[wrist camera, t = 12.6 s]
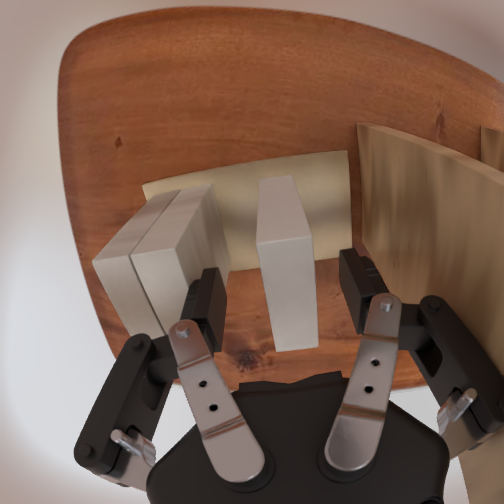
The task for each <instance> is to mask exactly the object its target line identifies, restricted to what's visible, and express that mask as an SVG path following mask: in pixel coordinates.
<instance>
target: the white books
mask: <svg viewBox="0 0 504 504" xmlns="http://www.w3.org/2000/svg"><path fill="white" fill-rule="evenodd" d="M284 175H292V177H293V180H294V183H295V185H296V188H297V191H298V194H299V197H300V200H301V203H302V206H303V209H304V212H305V215H306V218H307V221H308V224H309V227H310V230H311V234H312V237H313V249H314V261H315V260H322V259H329V258H336V257H339V251H340V250H341V249H348V248H352V217H351V192H350V175H349V162H348V151H347V150H336V151H325V152H316V153H307V154H299V155H291V156H283V157H276V158H269V159H263V160H256V161H250V162H244V163H238V164H233V165H227V166H222V167H216V168H211V169H206V170H201V171H196V172H192V173H187V174H182V175H178V176H174V177H169V178H165V179H161V180H157V181H153V182H149V183H145V184H143V185H142V188H143V191H144V194H145V198H146V201H147V202H146V203H145V204H144V205H143V206H142V207H141V208H140V209H139V210H138V211H137V213H136V214H135V215H134V216H133V217H132V218H131V219H130V220H129V221H128V222H127V223H126V224H125V225H124V226H123V227H122V228H121V229H120V230H119V231H118V232H117V233H116V235H115V236H114V237H113V238H112V239H111V240H110V241H109V242H108V243H107V244H106V246H105V247H104V248H103V249H102V250H101V251H100V252H99V253H98V255H97V256H96V257H95V258H94V259H93V260H92V264H93V266H94V268H95V270H96V273H97V275H98V277H99V279H100V281H101V283H102V285H103V287H104V289H105V291H106V293H107V295H108V296H109V298H110V300H111V302H112V304H113V306H114V308H115V310H116V311H117V313H118V315H119V317H120V319H121V320H122V322H123V324H124V326H125V327H126V329H127V331H128V332H129V334H130V336H131V337H132V336H133V335H136V334H139V333H145V334H147V335H149V336H150V338H151V339H155V338H158V337H161V336H164V335H167V334H168V331H169V329H170V327H171V326H172V325H173V324H175V323H176V322H178V321H179V320H180V317H181V313H182V309H183V306H184V302H185V299H186V295H187V292H188V288H189V286H190V285H191V284H192V282H193V281H194V280H196V279H201V275H202V271H203V269H204V268H212V267H219V269H220V273H221V276H222V279H223V283H224V286H225V289H226V285H227V280H228V275H229V272H230V271H238V270H246V269H254V268H260V264H259V259H258V254H257V248H256V231H257V214H258V198H259V181H260V179H263V178H270V177H277V176H284Z"/></svg>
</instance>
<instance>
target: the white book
mask: <svg viewBox="0 0 504 504" xmlns="http://www.w3.org/2000/svg"><path fill="white" fill-rule="evenodd" d="M256 248H257V254H258V259H259V264H260V269H261V274H262V280H263V285H264V290H265V295H266V300H267V306H268V311H269V316H270V321H271V327H272V332H273V337H274V342H275V348H276V351H277V352H280V351H290V350H298V349H306V348H314V347H318V316H317V295H316V277H315V263H314V249H313V237H312V234H311V230H310V227H309V224H308V221H307V218H306V215H305V212H304V209H303V206H302V203H301V200H300V197H299V194H298V191H297V188H296V185H295V183H294V180H293V177H292V175H284V176H277V177H270V178H263V179H260V181H259V198H258V214H257V231H256Z"/></svg>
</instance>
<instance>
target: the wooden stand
mask: <svg viewBox="0 0 504 504" xmlns="http://www.w3.org/2000/svg"><path fill="white" fill-rule="evenodd" d="M356 126H357V136H358V147H359V161H360V177H361V202H362V242H363V244H364V245H365V247H366V249H367V250H368V252H369V254H370V256H371V257H372V259H373V261H374V263H375V264H376V266H377V268H378V270H379V272H380V273H381V275H382V277H383V279H384V281H385V282H386V284H387V286H388V288H389V290H390V292H391V294H394V295H396V296H397V297H398V298H399V299H400V300H401V302H402V303H407V304H420V301H421V299H422V298H423V297H425V296H428V295H435V296H439V297H441V298H443V299H444V300H445V301H446V302H447V303H448V305H449V306H450V307H451V308H452V309H453V311H454V312H455V313H456V314H457V316H458V317H459V318H460V319H461V321H462V322H463V323H464V324H465V326H466V327H467V328H468V329H469V331H470V332H471V333H472V335H473V336H474V337H475V339H476V340H477V341H478V343H479V344H480V345H481V347H482V348H483V349H484V351H485V352H486V354H487V355H488V356H489V358H490V359H491V361H492V362H493V363H494V365H495V366H496V368H497V369H498V371H499V372H500V374H501V375H502V377H503V378H504V131H501V130H498V129H495V128H492V127H487V126H481V158H480V161H478V160H475V159H473V158H471V157H469V156H466V155H464V154H462V153H459V152H457V151H455V150H452V149H450V148H447V147H445V146H442V145H439V144H437V143H434V142H431V141H429V140H426V139H423V138H420V137H417V136H414V135H411V134H408V133H405V132H402V131H399V130H395V129H392V128H389V127H385V126H382V125H378V124H374V123H371V122H366V123H356ZM458 457H459V461H460V465H461V468H462V473H463V476H464V480H465V485H466V489H467V494H468V499H469V504H504V426H503V427H502V428H501V429H500V430H499V431H497V432H496V433H495V434H494V435H493V436H491V437H490V438H489V439H488V440H487V441H485V442H484V443H483V444H481V445H480V446H479V447H477V448H476V449H474V450H470V451H468V450H466V451H465V452H463V453H462V454H460V455H458Z"/></svg>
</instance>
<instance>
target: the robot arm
mask: <svg viewBox="0 0 504 504" xmlns="http://www.w3.org/2000/svg"><path fill="white" fill-rule="evenodd" d="M339 279H340V285H341V288H342V291H343V294H344V297H345V299H346V302H347V305H348V308H349V311H350V314H351V317H352V320H353V323H354V326H355V329H356V332H357V334H362V333H363V334H362V337H361V341H360V345H359V348H358V352H357V356H356V359H355V363H354V366H353V369H352V373H351V376H350V378H344V377H342V374H341V371H335V372H329V373H323V374H317V375H314V376H311V377H308V378H306V379H303V380H300V381H297V382H295V383H291V384H286V383H277V382H268V381H258V382H246V383H239V390H237V391H234V392H232V393H230V391H229V389H228V387H227V385H226V383H225V381H224V379H223V377H222V375H221V373H220V371H219V369H218V367H217V365H216V363H215V361H214V359H213V357H214V352H221V350H222V341H223V332H224V323H225V315H226V306H227V294H226V289H225V286H224V283H223V279H222V276H221V273H220V269H219V267H212V268H204V269H203V271H202V275H201V279H196V280H194V281H193V282H192V284H191V285H190V286H189V288H188V292H187V295H186V299H185V302H184V306H183V309H182V313H181V317H180V320H179V321H178V322H176V323H175V324H173V325H172V326H171V327H170V329H169V331H168V334H167V335H164V336H161V337H158V338H155V339H151V338H150V336H149V335H147V334H145V333H139V334H136V335H133V336H132V337H130V338H129V339H128V340H127V341H126V343H125V345H124V347H123V348H122V350H121V352H120V354H119V356H118V358H117V360H116V362H115V364H114V365H113V368H112V369H111V371H110V373H109V375H108V377H107V379H106V381H105V383H104V385H103V387H102V389H101V391H100V393H99V395H98V397H97V399H96V401H95V403H94V406H93V407H92V410H91V412H90V414H89V416H88V418H87V420H86V423H85V425H84V427H83V429H82V431H81V433H80V436H79V438H78V440H77V442H76V445H75V447H74V458H75V460H76V462H77V463H78V464H79V465H80V466H82V467H84V468H86V469H87V470H89V471H91V472H92V473H93V474H95V475H97V476H99V477H101V478H103V479H105V480H108V481H109V482H112V483H116V484H118V485H120V486H122V487H133V488H136V489H139V490H142V491H145V492H147V496H148V499H149V501H150V503H151V504H444V501H443V491H444V484H445V479H446V475H447V471H448V468H449V463H450V460H452V459H454V458H455V457H457V456H458V455H460V454H462V453H463V452H465V451H466V450H468V451H470V450H474V449H476V448H477V447H479V446H480V445H481V444H483V443H484V442H485V441H487V440H488V439H489V438H490V437H491V436H493V435H494V434H495V433H496V432H497V431H499V430H500V429H501V428H502V427H503V426H504V378H503V377H502V375H501V374H500V372H499V371H498V369H497V368H496V366H495V365H494V363H493V362H492V361H491V359H490V358H489V356H488V355H487V354H486V352H485V351H484V349H483V348H482V347H481V345H480V344H479V343H478V341H477V340H476V339H475V337H474V336H473V335H472V333H471V332H470V331H469V329H468V328H467V327H466V326H465V324H464V323H463V322H462V321H461V319H460V318H459V317H458V316H457V314H456V313H455V312H454V311H453V309H452V308H451V307H450V306H449V305H448V303H447V302H446V301H445V300H444V299H443V298H441V297H439V296H435V295H428V296H425V297H423V298H422V299H421V301H420V304H407V303H402V302H401V300H400V299H399V298H398V297H397V296H396V295H394V294H391V293H390V292H389V290H388V288H387V286H386V285H385V283H384V281H383V279H382V277H381V275H380V274H379V272H378V270H377V269H376V266H375V264H374V263H373V261H372V260H370V259H369V258H368V257H366V256H362V257H359V255H358V253H357V251H356V249H355V248H348V249H341V250H340V251H339ZM398 350H408V351H409V353H410V355H411V356H412V358H413V360H414V361H415V363H416V365H417V366H418V368H419V370H420V372H421V373H422V375H423V377H424V379H425V380H426V382H427V384H428V386H429V387H430V389H431V391H432V393H433V395H434V396H435V398H436V400H437V402H438V404H439V406H440V409H439V411H438V414H437V422H438V426H439V434H438V433H436V432H435V431H433V430H432V429H431V428H429V427H428V426H426V425H425V424H423V423H422V422H420V421H419V420H417V419H416V418H414V417H413V416H412V415H410V414H409V413H407V412H406V411H404V410H403V409H401V408H400V407H398V406H397V405H396V404H394V403H393V402H391V401H390V400H389V397H390V392H391V387H392V382H393V377H394V371H395V366H396V360H397V353H398ZM177 378H180V381H181V384H182V387H183V389H184V392H185V395H186V398H187V400H188V403H189V406H190V408H191V411H192V413H193V416H194V418H195V421H196V424H195V425H194V426H193V427H192V428H191V429H190V430H189V432H187V434H185V435H184V437H182V439H181V440H180V441H179V442H178V443H177V444H175V445H174V447H172V448H171V449H170V450H169V451H168V452H167V453H166V454H165V455H164V456H163V457H162V458H161V459H160V460H159V461H158V462H157V463H155V460H156V457H155V455H156V450H155V446H154V445H153V444H152V442H151V441H152V438H153V436H154V433H155V430H156V427H157V424H158V421H159V419H160V416H161V413H162V410H163V408H164V405H165V402H166V399H167V397H168V394H169V391H170V388H171V386H172V383H173V380H174V379H177Z"/></svg>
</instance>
